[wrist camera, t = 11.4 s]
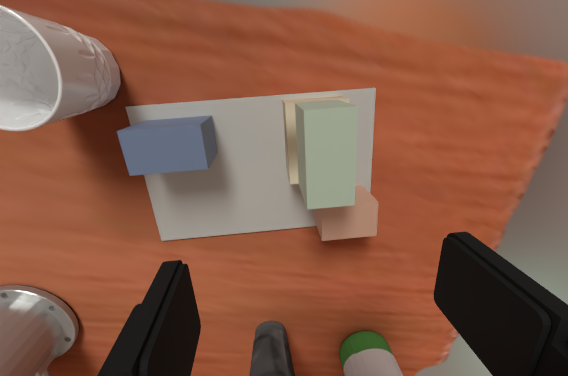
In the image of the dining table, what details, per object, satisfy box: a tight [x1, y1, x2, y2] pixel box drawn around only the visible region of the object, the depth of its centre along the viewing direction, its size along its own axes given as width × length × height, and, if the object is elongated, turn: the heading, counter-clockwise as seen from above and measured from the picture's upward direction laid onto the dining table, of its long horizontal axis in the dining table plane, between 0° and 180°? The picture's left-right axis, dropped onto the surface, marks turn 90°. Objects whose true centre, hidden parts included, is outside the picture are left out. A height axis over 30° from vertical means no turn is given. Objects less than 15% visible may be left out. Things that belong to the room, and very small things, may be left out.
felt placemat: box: [126, 88, 376, 241], centre depth 32 cm, size 16×26×1 cm, turn 94°
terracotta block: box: [314, 185, 378, 241], centre depth 32 cm, size 4×6×5 cm, turn 94°
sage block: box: [295, 100, 358, 210], centre depth 25 cm, size 8×4×6 cm, turn 4°
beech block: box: [282, 96, 349, 184], centre depth 29 cm, size 8×6×4 cm
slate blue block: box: [117, 115, 218, 176], centre depth 27 cm, size 7×4×6 cm, turn 94°
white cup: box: [0, 5, 121, 131], centre depth 23 cm, size 8×8×10 cm
